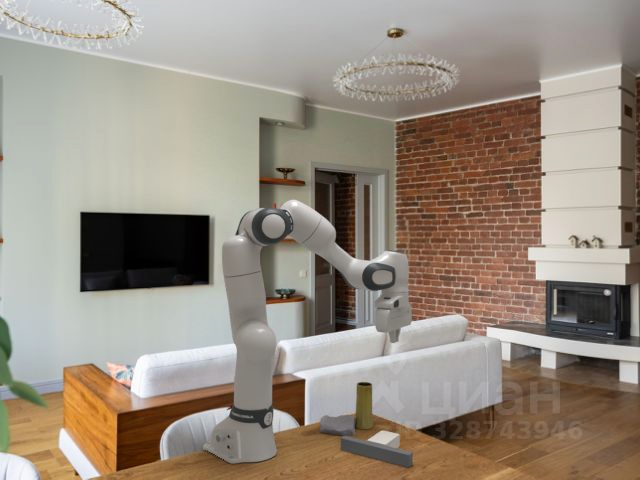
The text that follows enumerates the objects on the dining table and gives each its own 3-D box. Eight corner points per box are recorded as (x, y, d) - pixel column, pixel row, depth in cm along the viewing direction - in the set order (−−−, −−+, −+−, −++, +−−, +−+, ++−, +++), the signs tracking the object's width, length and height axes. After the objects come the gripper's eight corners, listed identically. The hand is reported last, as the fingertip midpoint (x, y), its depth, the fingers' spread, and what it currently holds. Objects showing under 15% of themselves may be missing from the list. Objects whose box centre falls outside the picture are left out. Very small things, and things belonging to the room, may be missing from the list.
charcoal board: (340, 449, 163) (340, 438, 163) (344, 447, 166) (345, 435, 166) (408, 467, 151) (409, 455, 151) (412, 464, 153) (412, 452, 153)
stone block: (356, 441, 175) (355, 424, 185) (355, 428, 174) (355, 411, 184) (318, 442, 176) (320, 425, 186) (318, 428, 175) (319, 412, 185)
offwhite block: (366, 453, 161) (366, 440, 161) (381, 443, 170) (381, 430, 170) (385, 458, 158) (385, 444, 158) (399, 447, 167) (399, 434, 167)
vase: (361, 422, 188) (361, 380, 188) (376, 425, 184) (377, 383, 184) (351, 426, 183) (351, 384, 183) (366, 431, 179) (367, 387, 179)
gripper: (399, 296, 189) (399, 336, 190) (371, 302, 172) (371, 346, 173) (416, 297, 186) (416, 338, 186) (390, 304, 169) (389, 348, 169)
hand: (394, 342), depth 179 cm, fingers closed
